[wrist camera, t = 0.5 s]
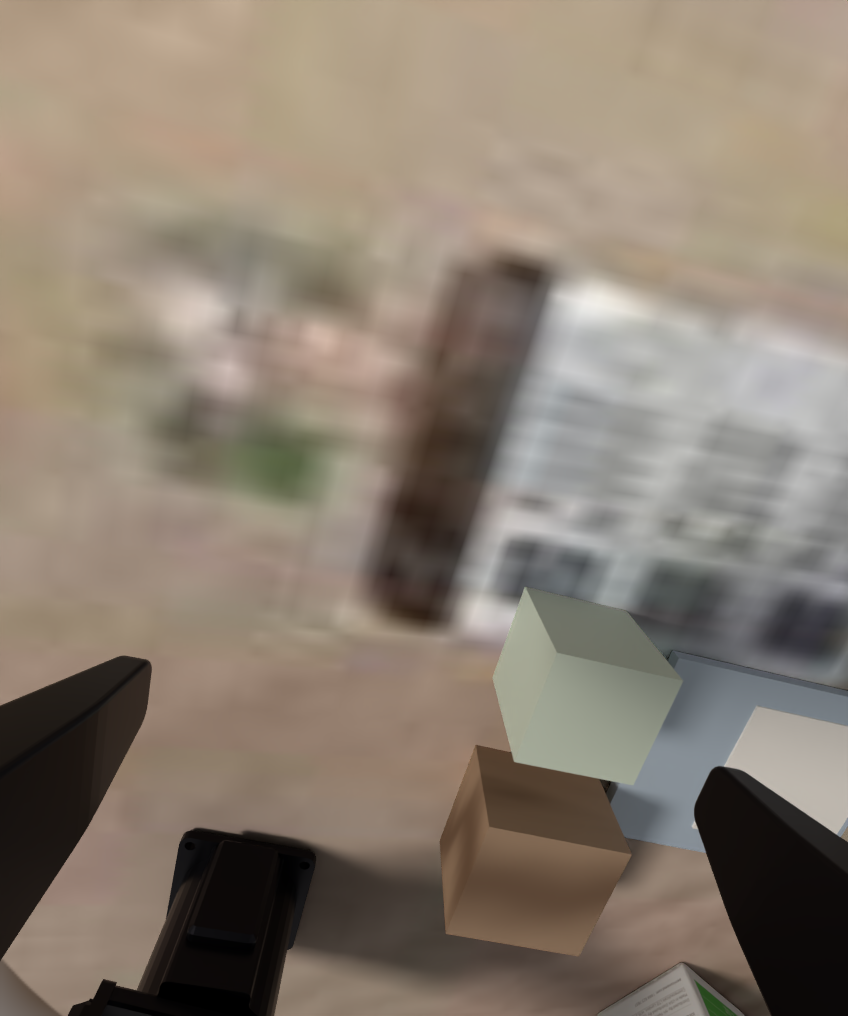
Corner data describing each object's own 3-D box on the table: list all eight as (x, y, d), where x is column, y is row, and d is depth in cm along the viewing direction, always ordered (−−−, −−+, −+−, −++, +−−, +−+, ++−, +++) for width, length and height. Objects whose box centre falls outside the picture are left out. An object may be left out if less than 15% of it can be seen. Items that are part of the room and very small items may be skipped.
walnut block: (552, 859, 27) (578, 956, 23) (439, 837, 27) (445, 933, 22) (594, 767, 25) (631, 854, 21) (475, 742, 25) (489, 826, 21)
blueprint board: (808, 862, 28) (818, 875, 27) (592, 821, 26) (597, 834, 26) (908, 704, 25) (922, 714, 24) (672, 650, 23) (679, 659, 23)
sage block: (588, 697, 24) (633, 785, 19) (492, 677, 24) (514, 761, 19) (625, 609, 23) (683, 680, 18) (524, 586, 22) (557, 652, 18)
